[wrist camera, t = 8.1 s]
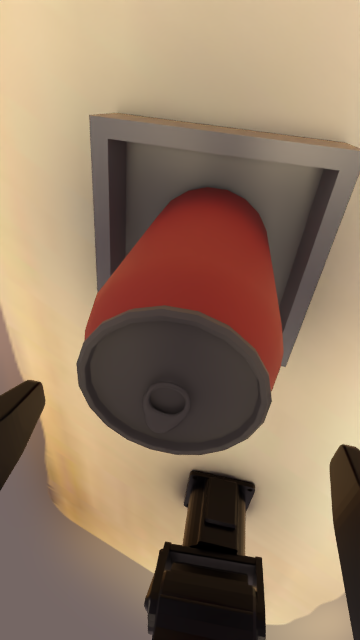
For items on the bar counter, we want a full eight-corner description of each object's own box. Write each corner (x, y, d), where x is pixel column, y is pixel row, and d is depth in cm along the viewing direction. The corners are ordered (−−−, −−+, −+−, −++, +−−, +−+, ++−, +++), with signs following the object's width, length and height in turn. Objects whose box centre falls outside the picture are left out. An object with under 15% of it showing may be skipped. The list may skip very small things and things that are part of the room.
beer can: (144, 276, 21) (53, 430, 11) (167, 168, 17) (63, 256, 7) (242, 307, 21) (239, 488, 11) (287, 206, 17) (343, 343, 7)
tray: (280, 333, 23) (285, 366, 20) (117, 303, 24) (99, 331, 21) (346, 142, 16) (367, 152, 13) (116, 112, 17) (89, 114, 14)
